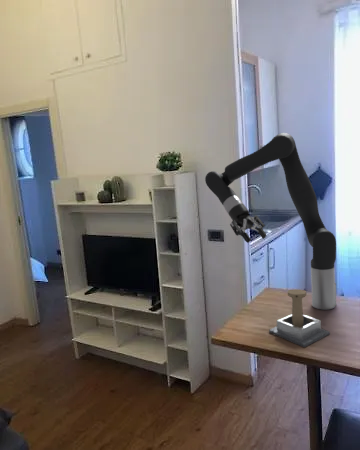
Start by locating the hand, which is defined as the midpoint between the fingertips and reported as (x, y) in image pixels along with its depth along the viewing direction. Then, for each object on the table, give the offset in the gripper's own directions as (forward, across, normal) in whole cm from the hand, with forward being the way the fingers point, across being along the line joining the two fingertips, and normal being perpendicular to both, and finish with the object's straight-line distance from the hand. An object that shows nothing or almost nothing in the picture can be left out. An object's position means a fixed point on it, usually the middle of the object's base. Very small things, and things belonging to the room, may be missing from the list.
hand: (257, 239), depth 154 cm
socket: (+37, -1, +9) cm, 38 cm away
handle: (+36, -1, +9) cm, 37 cm away
